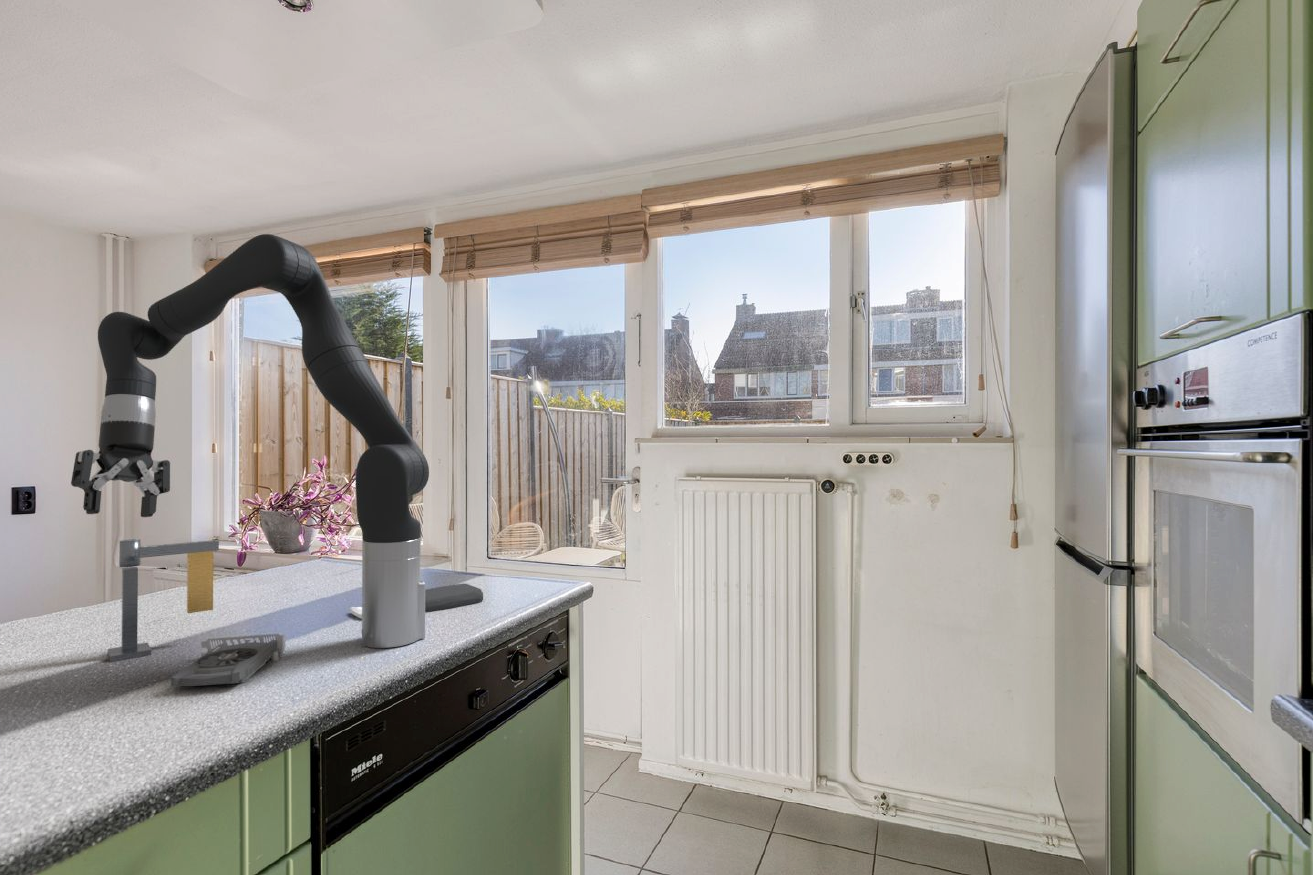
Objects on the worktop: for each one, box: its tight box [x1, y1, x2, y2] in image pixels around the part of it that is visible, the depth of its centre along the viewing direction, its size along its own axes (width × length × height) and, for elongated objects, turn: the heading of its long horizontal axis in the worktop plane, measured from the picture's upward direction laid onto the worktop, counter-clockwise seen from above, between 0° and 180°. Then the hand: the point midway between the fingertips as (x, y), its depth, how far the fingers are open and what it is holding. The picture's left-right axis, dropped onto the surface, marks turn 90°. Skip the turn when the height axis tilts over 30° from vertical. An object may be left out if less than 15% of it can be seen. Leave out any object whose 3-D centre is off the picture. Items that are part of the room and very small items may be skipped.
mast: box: [106, 566, 152, 663], centre depth 103 cm, size 5×5×14 cm
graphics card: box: [170, 633, 287, 688], centre depth 96 cm, size 17×4×12 cm
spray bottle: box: [349, 583, 484, 619], centre depth 133 cm, size 3×11×24 cm
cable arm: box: [118, 538, 220, 614], centre depth 107 cm, size 13×3×13 cm, turn 134°
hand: (120, 515), depth 113 cm, fingers open, 8 cm apart
